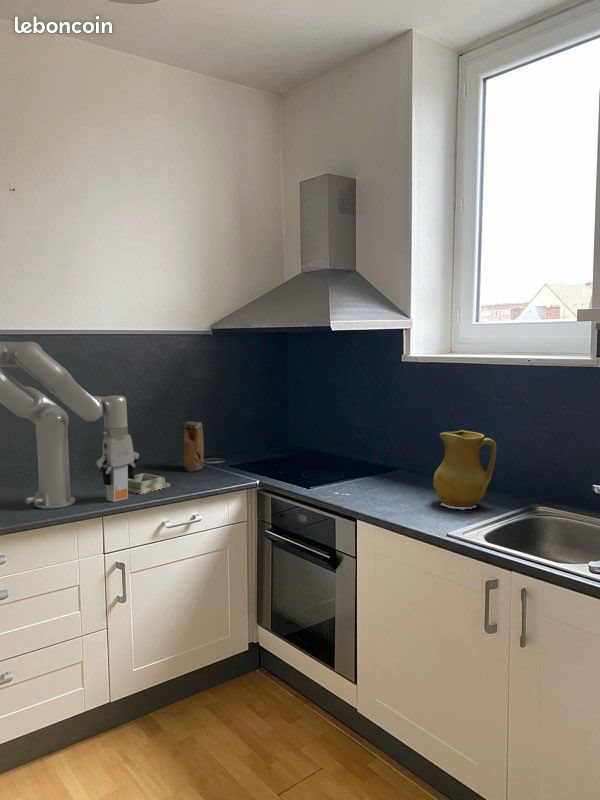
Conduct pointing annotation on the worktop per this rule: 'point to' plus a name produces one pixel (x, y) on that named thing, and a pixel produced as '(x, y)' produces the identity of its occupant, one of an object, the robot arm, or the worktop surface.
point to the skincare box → (118, 484)
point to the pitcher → (463, 469)
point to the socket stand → (146, 483)
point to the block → (193, 446)
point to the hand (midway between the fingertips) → (119, 481)
